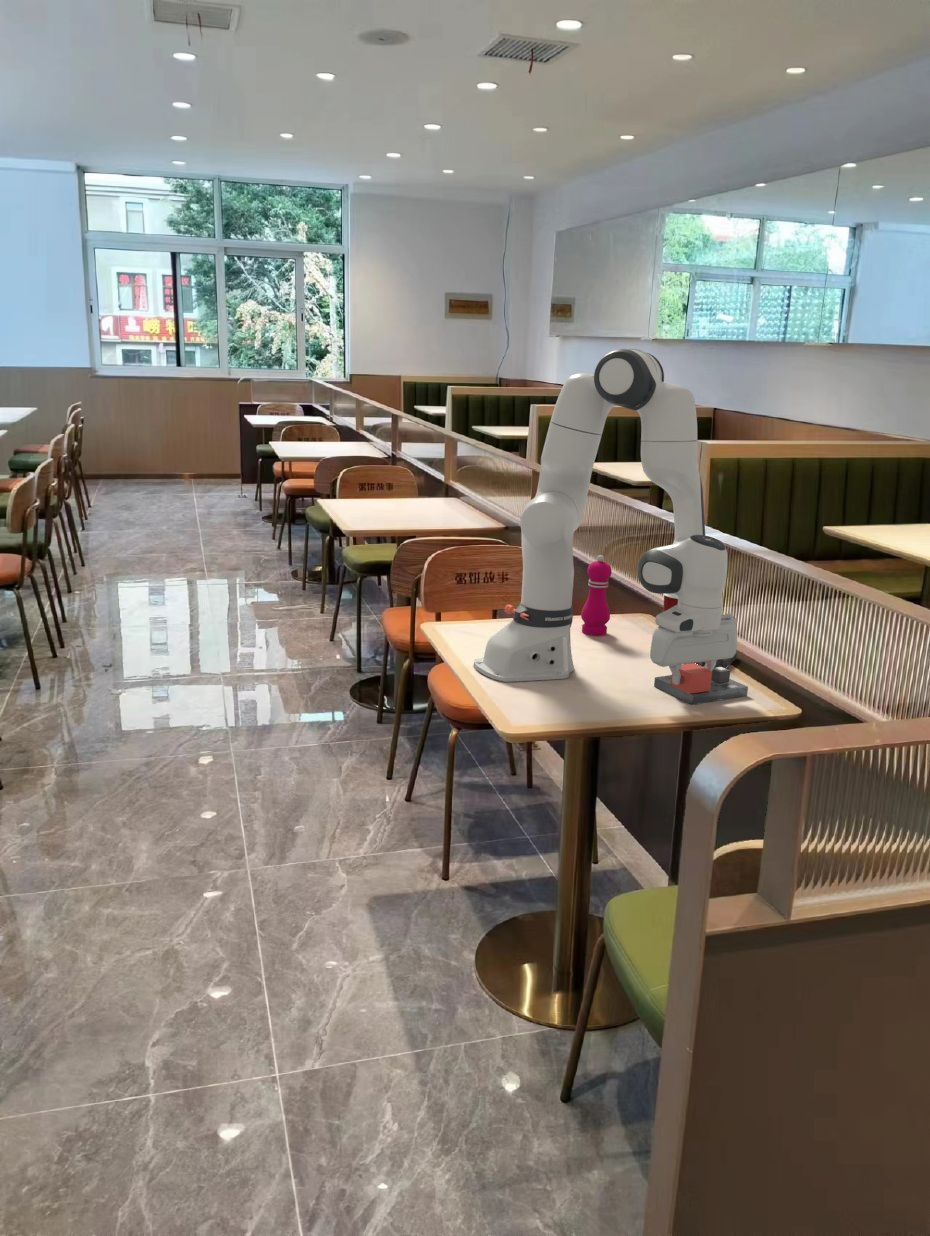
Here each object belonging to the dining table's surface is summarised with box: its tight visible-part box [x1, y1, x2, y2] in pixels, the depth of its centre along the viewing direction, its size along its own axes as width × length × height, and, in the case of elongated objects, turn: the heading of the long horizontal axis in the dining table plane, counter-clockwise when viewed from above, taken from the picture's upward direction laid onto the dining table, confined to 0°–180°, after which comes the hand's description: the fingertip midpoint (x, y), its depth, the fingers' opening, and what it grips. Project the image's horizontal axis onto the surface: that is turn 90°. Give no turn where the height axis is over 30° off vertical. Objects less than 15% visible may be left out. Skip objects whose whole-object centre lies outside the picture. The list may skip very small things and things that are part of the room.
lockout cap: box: [671, 663, 712, 694], centre depth 197 cm, size 6×6×4 cm
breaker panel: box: [653, 674, 749, 705], centre depth 202 cm, size 15×12×3 cm
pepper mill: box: [580, 554, 612, 637], centre depth 240 cm, size 7×7×20 cm
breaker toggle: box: [711, 667, 731, 683], centre depth 203 cm, size 3×3×3 cm
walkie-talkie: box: [689, 650, 738, 669], centre depth 221 cm, size 9×4×20 cm
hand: (690, 681), depth 197 cm, fingers closed on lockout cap, 6 cm apart
